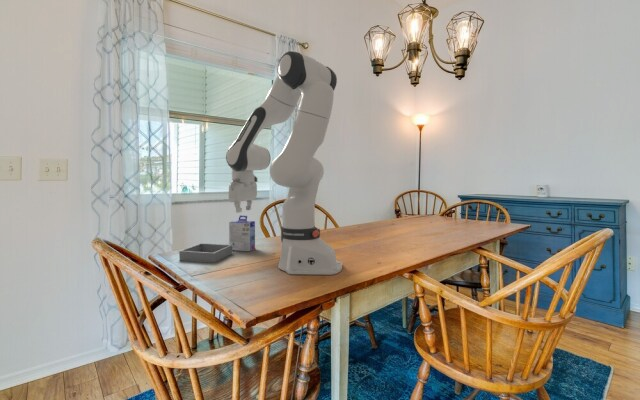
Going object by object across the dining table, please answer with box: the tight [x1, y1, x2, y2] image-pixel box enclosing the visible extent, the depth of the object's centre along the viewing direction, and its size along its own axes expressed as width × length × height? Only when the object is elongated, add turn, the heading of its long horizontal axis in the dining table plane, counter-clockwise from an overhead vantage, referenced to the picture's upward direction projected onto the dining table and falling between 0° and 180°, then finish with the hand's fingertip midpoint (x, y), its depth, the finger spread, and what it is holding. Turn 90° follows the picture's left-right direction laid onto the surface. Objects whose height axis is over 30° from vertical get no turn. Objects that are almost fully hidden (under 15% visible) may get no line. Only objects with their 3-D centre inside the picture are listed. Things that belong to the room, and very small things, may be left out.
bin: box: [178, 242, 233, 264], centre depth 130 cm, size 14×14×4 cm
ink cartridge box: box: [228, 215, 256, 252], centre depth 142 cm, size 10×6×14 cm, turn 78°
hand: (243, 211), depth 142 cm, fingers open, 8 cm apart
